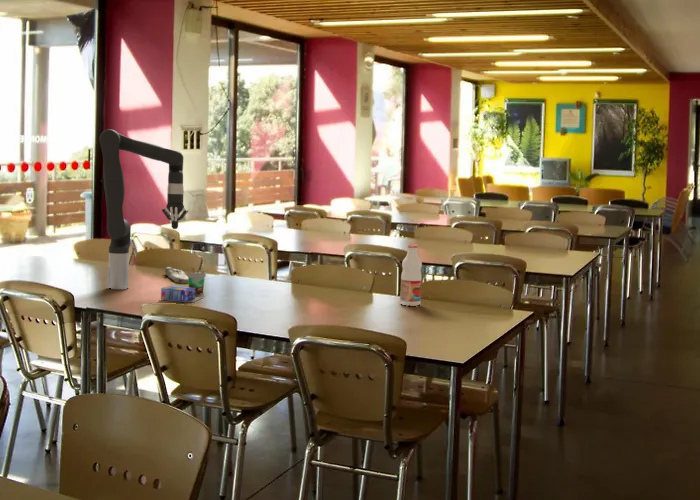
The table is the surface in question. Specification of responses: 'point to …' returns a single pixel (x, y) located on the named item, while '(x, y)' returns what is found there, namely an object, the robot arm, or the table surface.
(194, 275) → the food container
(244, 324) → the table surface
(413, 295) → the fruit juice
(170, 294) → the ink cartridge box
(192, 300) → the mat
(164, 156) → the robot arm
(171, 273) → the long grey stone
